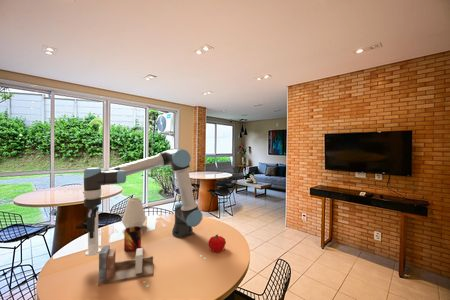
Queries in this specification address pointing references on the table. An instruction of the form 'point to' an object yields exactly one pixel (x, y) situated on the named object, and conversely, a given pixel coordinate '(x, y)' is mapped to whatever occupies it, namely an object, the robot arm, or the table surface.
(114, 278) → the rack
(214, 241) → the apple
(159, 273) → the table surface
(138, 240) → the mug
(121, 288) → the table surface
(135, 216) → the vase
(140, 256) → the bookend
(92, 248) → the white round flared column
